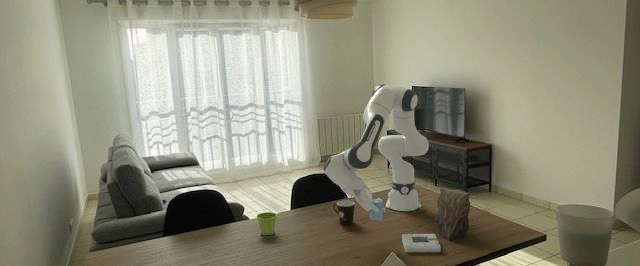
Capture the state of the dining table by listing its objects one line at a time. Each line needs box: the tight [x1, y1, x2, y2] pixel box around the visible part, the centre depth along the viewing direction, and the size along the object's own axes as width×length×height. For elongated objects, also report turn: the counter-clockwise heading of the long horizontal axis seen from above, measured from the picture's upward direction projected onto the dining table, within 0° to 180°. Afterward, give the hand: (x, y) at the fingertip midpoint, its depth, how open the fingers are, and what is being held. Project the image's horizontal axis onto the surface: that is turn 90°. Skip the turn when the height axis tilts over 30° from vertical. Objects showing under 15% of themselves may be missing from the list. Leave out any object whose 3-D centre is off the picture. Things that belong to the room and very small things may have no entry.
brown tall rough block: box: [434, 188, 471, 242], centre depth 197 cm, size 13×13×20 cm
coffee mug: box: [332, 200, 356, 226], centre depth 216 cm, size 12×9×10 cm
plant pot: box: [256, 211, 278, 236], centre depth 206 cm, size 9×9×9 cm
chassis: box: [401, 233, 441, 253], centre depth 186 cm, size 12×14×3 cm
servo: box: [366, 197, 386, 221], centre depth 189 cm, size 4×8×9 cm, turn 86°
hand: (377, 208), depth 189 cm, fingers closed on servo, 4 cm apart
